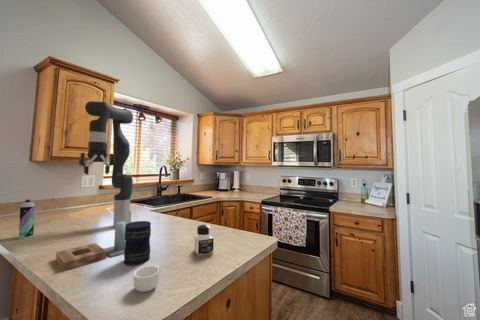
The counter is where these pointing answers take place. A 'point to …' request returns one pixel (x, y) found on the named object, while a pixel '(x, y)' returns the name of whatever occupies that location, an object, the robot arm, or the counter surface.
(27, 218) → the spray can
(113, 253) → the mat
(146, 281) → the teacup
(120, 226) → the peg
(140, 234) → the storage jar
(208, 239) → the medicine bottle
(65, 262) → the pocket block
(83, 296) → the counter surface
